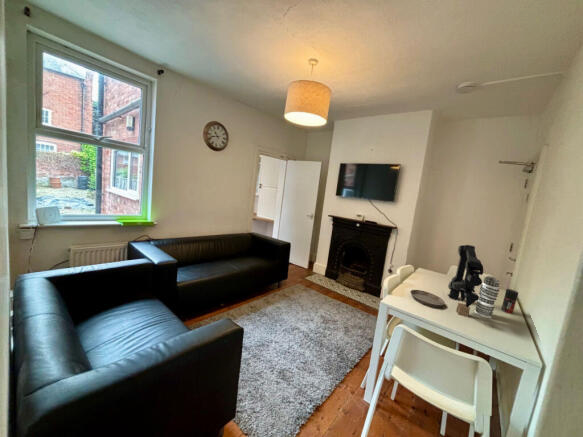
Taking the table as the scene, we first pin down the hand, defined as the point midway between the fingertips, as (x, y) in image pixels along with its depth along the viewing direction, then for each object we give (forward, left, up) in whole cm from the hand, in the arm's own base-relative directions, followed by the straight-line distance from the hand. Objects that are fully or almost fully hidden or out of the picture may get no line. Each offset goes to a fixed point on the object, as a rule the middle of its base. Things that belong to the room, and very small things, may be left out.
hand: (464, 303), depth 143 cm
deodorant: (-26, +33, -7) cm, 43 cm away
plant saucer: (-7, -19, -7) cm, 22 cm away
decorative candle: (-9, +14, -7) cm, 18 cm away
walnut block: (0, 0, -7) cm, 7 cm away
